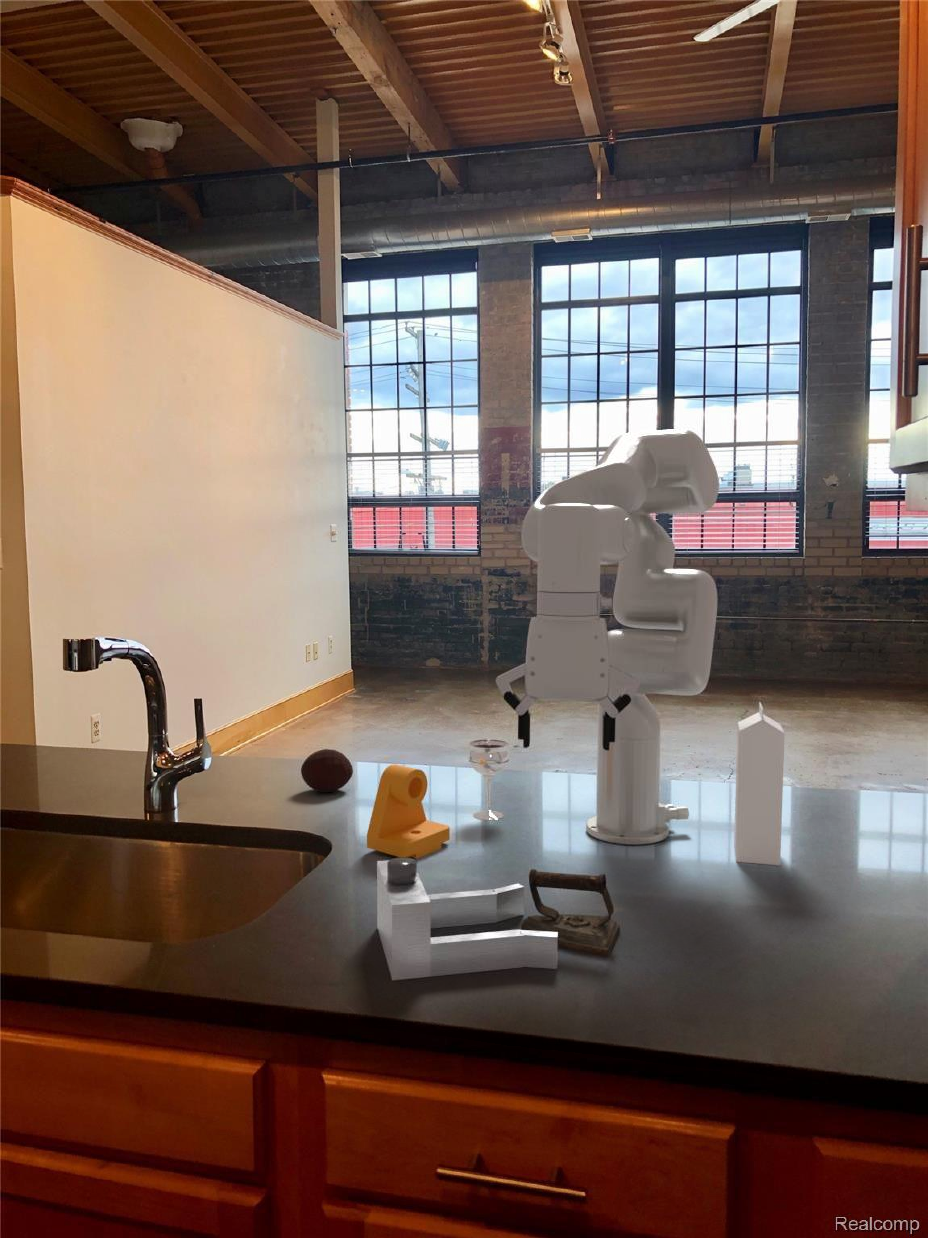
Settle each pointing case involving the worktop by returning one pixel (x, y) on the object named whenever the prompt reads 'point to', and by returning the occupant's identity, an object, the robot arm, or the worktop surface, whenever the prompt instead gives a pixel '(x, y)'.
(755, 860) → the milk
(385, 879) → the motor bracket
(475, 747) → the wineglass
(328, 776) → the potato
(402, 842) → the bracket
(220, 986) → the worktop surface
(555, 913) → the clothes iron
